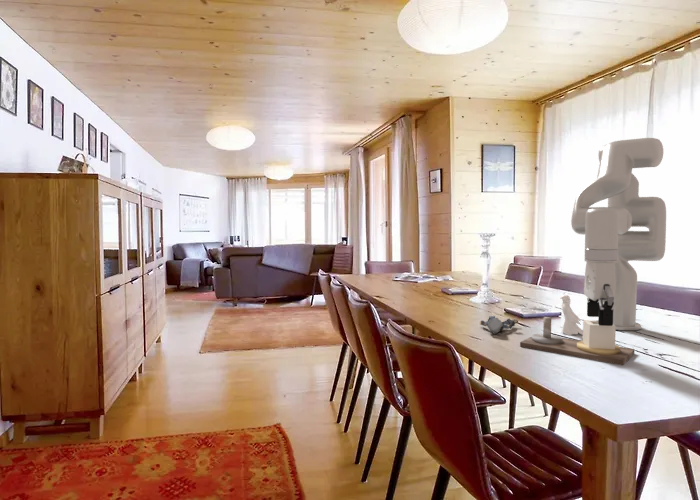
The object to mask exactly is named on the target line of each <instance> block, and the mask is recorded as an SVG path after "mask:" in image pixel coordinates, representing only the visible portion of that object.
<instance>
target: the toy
mask: <svg viewBox="0 0 700 500" xmlns="http://www.w3.org/2000/svg"><path fill="white" fill-rule="evenodd" d="M517 323H519V320H518V319H517V318H515V317H513V318H512V319H511V318H507V319H506V320H504V321H502V320H501V319H499V318H498V317H496V316H495V315H493V316H489V317H488V319H487V320H486V321H485V320H480V321H479V325H480V326H484V327H487V328H488V330H489V331H490V332H492V334H493V335H496V334H498V333H499V332H501V333H503V332H504V331H503V330H505V329H507V330H508V329H512V328H513V327H515V326H516V324H517Z"/></svg>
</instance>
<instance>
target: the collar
mask: <svg viewBox="0 0 700 500" xmlns="http://www.w3.org/2000/svg"><path fill="white" fill-rule="evenodd" d="M582 322H583V323H582V330H583V335H582V341H583V343H584V344H585V345H587V346H588V347H589V348H599V349H615V345H616V334H617V333H616V331H617V330H616V326H615V325H612V326H601V325H599V324H598V320H593V319H592V320H590V319H583V321H582Z"/></svg>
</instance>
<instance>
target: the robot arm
mask: <svg viewBox="0 0 700 500" xmlns="http://www.w3.org/2000/svg"><path fill="white" fill-rule="evenodd" d="M663 157H664V145H663V143H662V141H661V140H660V139H659V138H655V137H642V138H641V137H640V138H631V139H622V140H621V139H620V140H615V141H612V142H609V143H608V144H605V145H602V146H601V147H600V148H599V150H598V160H599V165H598V172H597V175H596V177H597V178H596V179H595V180H593V181H592V182H591V183H589V184H588V185H587V186H585V187H584V188H583V189H582V190H581V191H580V192H579V193H578V195H577V196H576V197H575V201H574V204H573V210H572V212H571V213H572V214H571V220H570V222H571V224H570V225H571V229H572V230H573V231H574V232H575V234H577V235H584V262H586V263H585V269H584V270H585V272H584V282H583V283H584V284H583V285H584V287H583V294H584V296H585V297H587V298H586V299H587V301H586V303H587V305H586V316H587V317H589V318H590V317H591V318H592V317H593V318H598V320H597V321H598V324H599V325H601V326H612V325H615V326H616V331H638V330H641V329H642V325H641V323H638V322H637V320H636V319H637V298H638V296H637V295H638V293H637V292H638V291H637V290H638V273H637V271H636V270H635V268H634V267H633V266H632V265H631V264H630V263H629V261H633V262H634V261H638V262H641V261H642V262H659V261H661V260H662V259H663V258H664V256H665V252H666V238H667V236H666V233H667V208H666V202H665V200H664V199H662V198H661V197H658V196H639V195H640V194H639V190H640V188H639V187H640V181H639V179H638V178H637V177H636V175H635V174H634V173H632V172H633V169H640V168H641V169H643V168H656V167H658V166H659V165H660V164H662V163H661V162H662V161H663V159H664V158H663ZM603 200H607V206H606V207H605V206H596V207H595V206H594V207H593V205H594V204H597V203H598V202H602V201H603ZM631 227H632V228H634V227H635V228H641V227H642V228H644V227H645V228H647V229H648V230H630V229H631Z"/></svg>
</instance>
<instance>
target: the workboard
mask: <svg viewBox="0 0 700 500" xmlns="http://www.w3.org/2000/svg"><path fill="white" fill-rule="evenodd" d="M542 327H543V328H542V329H543V331H542V333H535V334H532V335H531V336H530V337H528V338H526V339H524V340H522V341H520V342H519V347H521V348H522V347H523V348H525V349H526V348H527V349H532V350H538V351H544V352H548V353H553V354H554V353H556V354H559V355H565V356H566V355H567V356H570V357H577V358H581V359H587V360H591V361H592V360H593V361H598V362H603V363H604V362H605V363H610V364H615V365H619V366H620V365H621V366H623V365H625V363H627V361H629V359H631V358H632V357H633V356H634V354H635V349H634V348H629V347H623V346H619V345H617V344H615V349H599V348H589V347H588V346H587V345H585V344H584V343H583V340H578V339H572V338H568V337H567V338H566V337H563V336H560V335H556V334H552V317H549V316H544V317H543V326H542Z"/></svg>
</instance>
